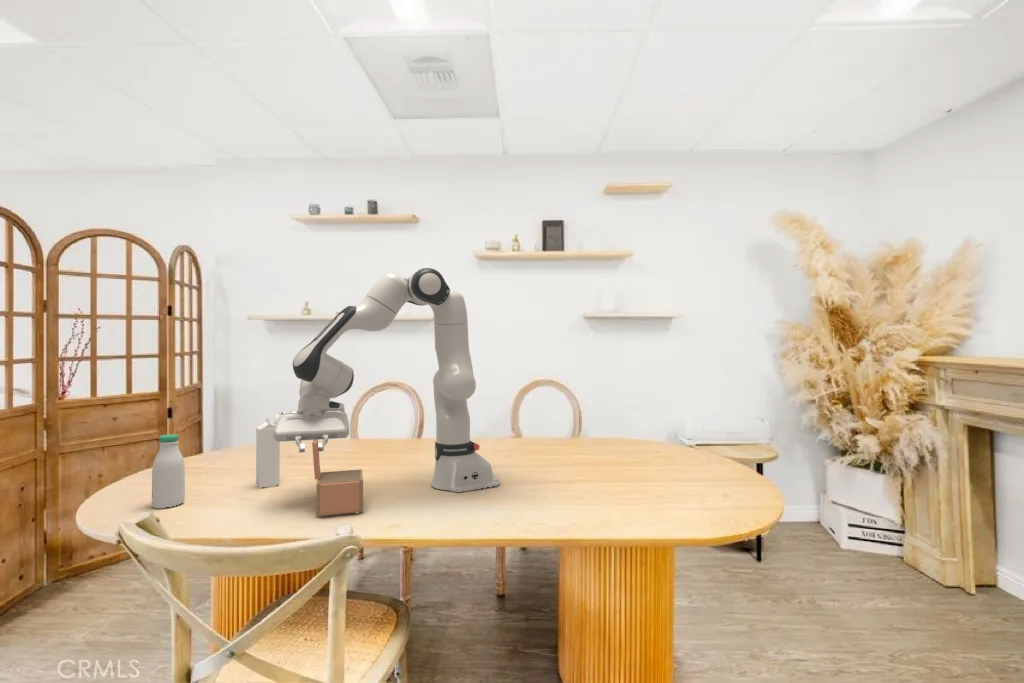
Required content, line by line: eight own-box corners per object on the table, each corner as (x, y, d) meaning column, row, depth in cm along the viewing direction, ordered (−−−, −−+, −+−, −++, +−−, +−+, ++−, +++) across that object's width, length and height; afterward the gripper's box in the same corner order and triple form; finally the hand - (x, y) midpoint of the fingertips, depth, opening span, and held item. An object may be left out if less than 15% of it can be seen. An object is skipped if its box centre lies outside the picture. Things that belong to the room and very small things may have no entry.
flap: (320, 474, 140) (317, 439, 140) (319, 478, 135) (316, 442, 135) (316, 474, 140) (313, 439, 140) (314, 479, 135) (312, 443, 135)
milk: (259, 489, 158) (259, 420, 157) (255, 484, 162) (255, 417, 162) (280, 485, 161) (279, 418, 161) (276, 481, 166) (275, 416, 166)
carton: (361, 499, 147) (362, 469, 147) (363, 513, 135) (363, 480, 135) (318, 503, 143) (318, 472, 143) (315, 518, 131) (316, 484, 131)
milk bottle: (191, 502, 144) (191, 433, 144) (164, 510, 137) (165, 438, 137) (172, 499, 147) (172, 432, 147) (145, 507, 139) (145, 436, 140)
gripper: (274, 406, 142) (269, 446, 133) (349, 403, 149) (349, 442, 140) (276, 419, 146) (271, 459, 137) (348, 416, 153) (348, 454, 144)
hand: (311, 450), depth 138 cm, fingers open, 4 cm apart
